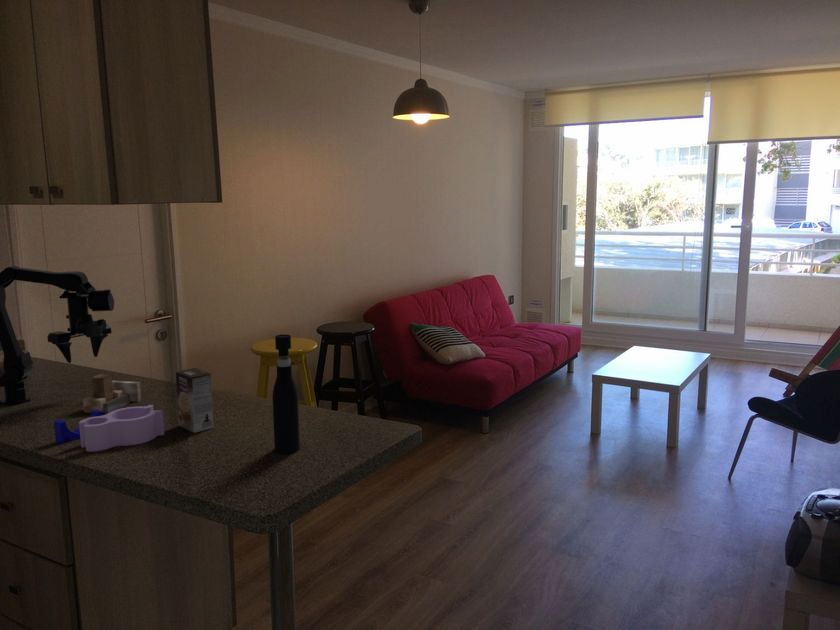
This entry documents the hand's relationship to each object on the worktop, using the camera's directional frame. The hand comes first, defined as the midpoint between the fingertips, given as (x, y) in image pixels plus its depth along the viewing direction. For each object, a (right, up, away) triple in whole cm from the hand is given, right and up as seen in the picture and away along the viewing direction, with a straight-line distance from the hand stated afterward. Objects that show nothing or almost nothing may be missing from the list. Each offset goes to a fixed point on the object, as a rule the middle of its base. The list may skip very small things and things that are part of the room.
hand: (82, 359), depth 218 cm
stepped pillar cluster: (+10, -14, -5) cm, 18 cm away
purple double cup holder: (+28, -20, -34) cm, 48 cm away
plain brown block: (+10, -14, -7) cm, 19 cm away
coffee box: (+44, -18, -24) cm, 54 cm away
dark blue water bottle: (+74, -21, -42) cm, 87 cm away
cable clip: (+14, -19, -31) cm, 40 cm away
